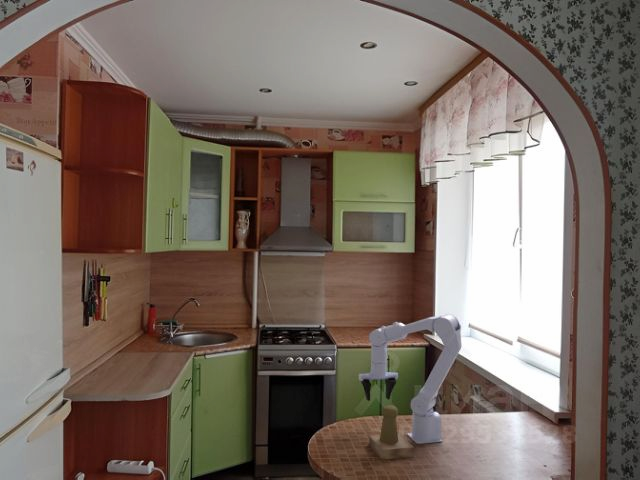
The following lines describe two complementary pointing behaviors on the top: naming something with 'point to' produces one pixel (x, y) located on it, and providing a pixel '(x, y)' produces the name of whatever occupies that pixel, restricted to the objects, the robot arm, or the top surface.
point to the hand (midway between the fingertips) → (377, 399)
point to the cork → (389, 425)
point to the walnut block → (391, 448)
